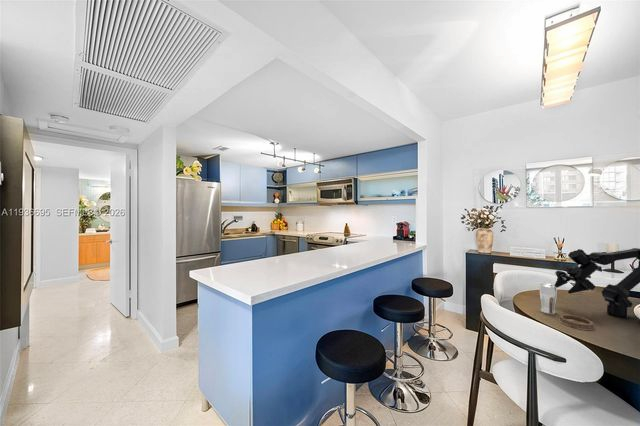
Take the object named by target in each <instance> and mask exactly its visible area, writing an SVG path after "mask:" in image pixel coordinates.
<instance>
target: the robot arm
mask: <svg viewBox="0 0 640 426" xmlns="http://www.w3.org/2000/svg"><path fill="white" fill-rule="evenodd" d="M567 255H568V258H570V260H571V261H573V263H575V264H576V265H579V266H578V267H577V266H575V265H573V266H570V265H567V264H562V266H561V268H560V270H556V271H555V272H554V274H555V276H556V277H557V278H556V280H555V283H554V286H556V289H557V288H559V287H562V286H565V285H566V284H568V283H569V282H570V281H572V282H574V285H573V286H571V288H570V289H569V290H568V291H567V293H568V294H575V293H578V292H584V291H593V290H594V289H596V285H595V284H594V283H593V282H591V281H590V279H591V278H592V276H591V275H592V274H594V273H595V272H596V271H598V272H601V273H602V272H603V268H602V266H607V265H611V264H613V263H615V262H616V261H623V260H627V259H634V258H636V259H637V260H638V263H637V264H638V266H636V268H635V269H633V270H632V271H631V272H630V273H629V274H627V276H625V277H624V278H623V279H622V280H620V281H619V282H618V283H617V284H614V285H613V284H611V283H609V284H607V285H606V286H605V287H604V288H602V291H601V295H602V297H603V299H604V301H605V302H608V304H606V313H607V314H608V316H612V317H618V318H621V319H628V308H632V306H633V304H634V303H633V302H632V301H631V300H629V299H628V298H629V297H630V292H631V290H633V289H634V288H635V287H636V286H638V285H639V284H640V248H638V247H633V248H629V249H623V250H618V251H617V250H616V251H610V252H601V251H600V252H598V251H597V252H591V253H590V254H589V253H588V254H587V253H586V252H585V251H584V250H583V249H580V248H579V249H577V250H573V251H570V252H569V253H568V254H567ZM636 274H637V275H636Z"/></svg>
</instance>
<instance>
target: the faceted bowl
mask: <svg viewBox="0 0 640 426" xmlns="http://www.w3.org/2000/svg"><path fill="white" fill-rule="evenodd" d="M558 322H559V323H560V324H562V325H563V326H567V327H569V328H572V329H575V328H576V330H580V329H581V331H591V332H592V331H594V330H595V326H594V322H593V321H591V320H590V319H588V318H585V317H581V316H577V315H573V314H559V318H558Z"/></svg>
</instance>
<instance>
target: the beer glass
mask: <svg viewBox="0 0 640 426" xmlns="http://www.w3.org/2000/svg"><path fill="white" fill-rule="evenodd" d="M554 285H555V284H554ZM554 285H553V284H550V283H541V284H540V285H539V298H540V303H541V306H540V312H542V313H544V314H546V315H556V311H555V310H556V309H555V306H556V302H557V294H558V292H557V288H556V286H554Z"/></svg>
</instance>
